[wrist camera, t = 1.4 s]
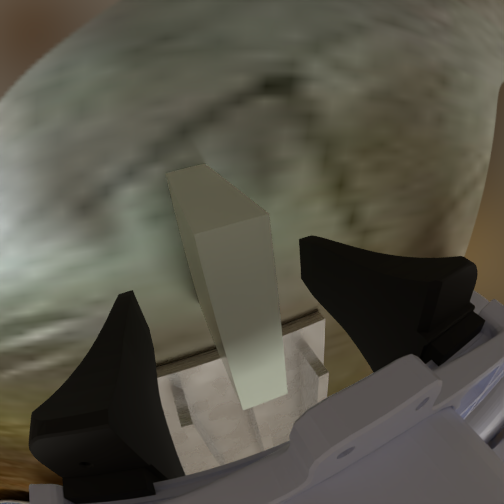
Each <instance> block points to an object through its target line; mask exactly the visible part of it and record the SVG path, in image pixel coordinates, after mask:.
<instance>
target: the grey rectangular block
mask: <svg viewBox="0 0 504 504" xmlns="http://www.w3.org/2000/svg"><path fill="white" fill-rule="evenodd" d="M166 178H167V182H168V187H169V191H170V195H171V199H172V204H173V208H174V212H175V216H176V220H177V224H178V228H179V232H180V236H181V239H182V243H183V247H184V251H185V254H186V258H187V262H188V265H189V269H190V273H191V276H192V280H193V283H194V287H195V290H196V294H197V297H198V301H199V304H200V307H201V309H202V312H203V315H204V317H205V320H206V322H207V325H208V328H209V330H210V333H211V335H212V338H213V340H214V343H215V345H216V348H217V350H218V353H219V355H220V358H221V360H222V363H223V365H224V367H225V370H226V372H227V375H228V377H229V379H230V382H231V384H232V386H233V389H234V391H235V393H236V396H237V398H238V400H239V402H240V405H241V407H242V409H243V410H246V409H249V408H251V407H254V406H257V405H259V404H262V403H265V402H267V401H270V400H272V399H275V398H277V397H280V396H282V395H285V394H287V393H288V391H287V380H286V369H285V358H284V348H283V337H282V327H281V317H280V307H279V298H278V288H277V279H276V270H275V261H274V252H273V243H272V234H271V225H270V217H269V213H267V212H266V211H265V210H264V209H262V208H261V207H260V206H259V205H257V204H256V203H255V202H254V201H252V200H251V199H250V198H249V197H247V196H246V195H245V194H244V193H242V192H241V191H240V190H239V189H237V188H236V187H235V186H233V185H232V184H231V183H230V182H228V181H227V180H226V179H224V178H223V177H222V176H221V175H219V174H218V173H217V172H215V171H214V170H213V169H212V168H210V167H209V166H208V165H206V164H205V163H204V164H200V165H196V166H192V167H188V168H184V169H180V170H176V171H172V172H168V173H166Z"/></svg>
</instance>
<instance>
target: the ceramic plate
mask: <svg viewBox="0 0 504 504" xmlns="http://www.w3.org/2000/svg"><path fill="white" fill-rule="evenodd" d="M0 504H30V502H28V501H18V500H0Z"/></svg>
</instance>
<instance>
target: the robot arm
mask: <svg viewBox="0 0 504 504" xmlns="http://www.w3.org/2000/svg"><path fill="white" fill-rule="evenodd" d="M299 246H300V263H301V279H302V280H303V282H304V283H305V285H306V286H307V288H308V289H309V291H310V292H311V293H312V295H313V296H314V297H315V298H316V299H317V300H318V302H319V303H320V304H321V305H322V306H323V307H324V308H325V309H326V310H327V311H328V312H329V313H330V314H331V315H332V316H333V318H334V319H335V320H336V321H337V322H338V323H339V324H340V325H341V326H342V327H343V328H344V330H345V331H346V332H347V333H348V335H349V336H350V337H351V339H352V340H353V342H354V343H355V344H356V346H357V347H358V349H359V350H360V352H361V353H362V355H363V356H364V358H365V359H366V361H367V362H368V364H369V365H370V367H371V369H372V370H373V372H374V373H373V374H371V375H369V376H367V377H365V378H364V379H362V380H360V381H358V382H356V383H355V384H353V385H351V386H349V387H347V388H345V389H343V390H341V391H339V392H337V393H335V394H333V395H331V396H329V397H327V398H325V399H324V400H322V401H320V402H319V403H317V404H315V405H314V406H312V407H311V408H309V409H307V410H306V411H305V412H304V413H303V414H302V415H301V416H300V417H299V418H298V419H297V420H296V421H295V423H294V425H293V428H292V430H291V432H290V435H289V439H290V440H289V441H287V442H285V443H282V444H280V445H277V446H275V447H272V448H270V449H267V450H265V451H262V452H260V453H257V454H254V455H251V456H249V457H246V458H243V459H240V460H237V461H234V462H231V463H228V464H225V465H222V466H218V467H215V468H212V469H208V470H205V471H201V472H198V473H194V474H190V475H185V472H184V470H183V468H182V465H181V463H180V460H179V457H178V455H177V452H176V449H175V446H174V443H173V440H172V437H171V434H170V431H169V428H168V425H167V422H166V418H165V415H164V411H163V407H162V404H161V399H160V394H159V387H158V379H157V371H156V363H155V354H154V347H153V343H152V339H151V334H150V330H149V327H148V325H147V323H146V320H145V318H144V316H143V313H142V311H141V309H140V306H139V304H138V302H137V299H136V297H135V295H134V292H133V290H132V291H128V292H125V293H122V294H119V295H118V297H117V299H116V301H115V303H114V305H113V307H112V309H111V311H110V314H109V316H108V318H107V320H106V322H105V324H104V326H103V328H102V330H101V331H100V333H99V335H98V337H97V339H96V341H95V342H94V344H93V346H92V347H91V349H90V350H89V352H88V353H87V355H86V356H85V358H84V359H83V361H82V362H81V363H80V365H79V366H78V367H77V368H76V370H75V371H74V372H73V373H72V374H71V376H70V377H69V378H68V379H67V380H66V382H65V383H64V384H63V385H62V386H61V387H60V388H59V389H58V390H57V391H56V392H55V393H54V394H53V395H52V396H51V397H50V398H49V399H47V400H46V401H45V402H44V403H43V404H42V405H40V406H39V407H38V408H37V409H36V410H34V411H33V412H32V415H31V424H30V435H29V450H30V451H31V453H32V454H33V456H34V457H35V458H36V459H37V460H38V461H39V462H41V463H42V464H43V465H45V466H46V467H48V468H49V469H50V470H52V471H53V472H55V473H56V474H58V475H59V476H61V477H62V478H63V486H61V485H57V484H31V485H29V502H30V504H504V305H502V304H501V303H500V302H498V301H497V300H495V299H493V300H491V302H489V301H488V300H487V299H485V298H484V297H483V296H481V295H480V294H479V293H477V292H476V291H474V287H475V284H476V280H477V267H476V265H475V264H474V263H473V262H471V261H470V260H468V259H466V258H465V257H462V256H458V257H446V258H414V257H402V256H394V255H388V254H382V253H377V252H372V251H368V250H364V249H360V248H356V247H353V246H349V245H346V244H342V243H339V242H335V241H332V240H329V239H325V238H321V237H317V236H308V237H305V238H302V239H299Z"/></svg>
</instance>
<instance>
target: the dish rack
mask: <svg viewBox="0 0 504 504" xmlns="http://www.w3.org/2000/svg"><path fill="white" fill-rule="evenodd" d="M281 327H282V337H283V348H284V358H285V369H286V380H287V391H288V393H287V394H285V395H282V396H280V397H277V398H275V399H272V400H270V401H267V402H265V403H262V404H259V405H257V406H254V407H251V408H249V409H246V410H243V409H242V407H241V405H240V402H239V400H238V398H237V396H236V393H235V391H234V389H233V386H232V384H231V382H230V379H229V377H228V375H227V372H226V370H225V367H224V365H223V363H222V360H221V358H220V355H219V353H218V350H217V348H216V349H213V350H210V351H207V352H204V353H201V354H198V355H195V356H192V357H188V358H185V359H182V360H178V361H175V362H172V363H168V364H165V365H162V366H158V367H156V371H157V379H158V387H159V394H160V399H161V404H162V407H163V411H164V415H165V418H166V422H167V425H168V428H169V431H170V434H171V437H172V440H173V443H174V446H175V449H176V452H177V455H178V457H179V460H180V463H181V465H182V468H183V470H184V472H185V475H190V474H194V473H198V472H201V471H205V470H208V469H212V468H215V467H218V466H222V465H225V464H228V463H231V462H234V461H237V460H240V459H243V458H246V457H249V456H251V455H254V454H257V453H260V452H262V451H265V450H267V449H270V448H272V447H275V446H277V445H280V444H282V443H285V442H287V441H289V440H290V439H289V435H290V432H291V430H292V428H293V425H294V423H295V421H296V420H297V419H298V418H299V417H300V416H301V415H302V414H303V413H304V412H305V411H306V410H307V409H309V408H311V407H312V406H314V405H315V404H317V403H319V402H320V401H322V400H324V399H325V398H327V389H328V378H329V372H328V370H327V369H326V368H325V366H324V365H323V364H324V341H325V318H324V317H323V316H322V315H321V314H320V313H319V311H317V312H315V313H312V314H310V315H307V316H305V317H302V318H300V319H297V320H295V321H292V322H289V323H287V324H284V325H281Z"/></svg>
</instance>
